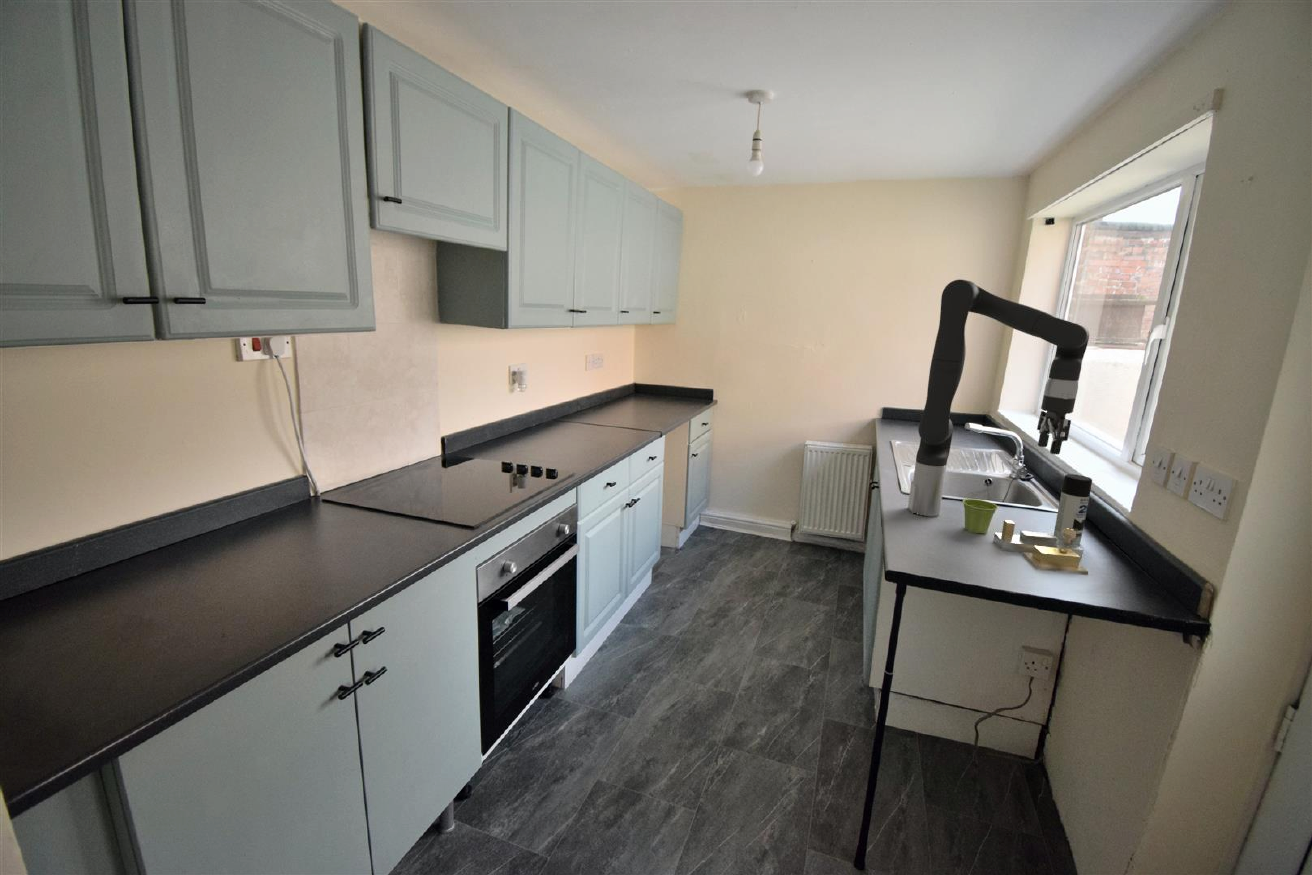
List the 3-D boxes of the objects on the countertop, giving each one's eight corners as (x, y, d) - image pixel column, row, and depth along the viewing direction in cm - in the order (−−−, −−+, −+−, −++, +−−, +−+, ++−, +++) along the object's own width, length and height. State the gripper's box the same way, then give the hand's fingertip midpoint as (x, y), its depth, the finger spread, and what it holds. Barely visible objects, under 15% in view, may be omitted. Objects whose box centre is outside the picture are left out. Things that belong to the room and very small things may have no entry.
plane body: (1002, 550, 159) (1006, 525, 158) (993, 540, 166) (997, 516, 164) (1081, 558, 155) (1086, 532, 154) (1069, 547, 162) (1074, 523, 160)
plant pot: (964, 522, 180) (968, 496, 178) (997, 530, 174) (1001, 504, 172) (954, 529, 174) (958, 503, 172) (987, 538, 167) (992, 511, 165)
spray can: (1072, 547, 163) (1085, 481, 158) (1047, 538, 168) (1059, 475, 164) (1084, 543, 166) (1098, 478, 161) (1059, 535, 171) (1072, 472, 167)
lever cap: (1040, 563, 150) (1042, 551, 149) (1032, 555, 154) (1034, 543, 153) (1078, 567, 148) (1080, 554, 147) (1068, 559, 152) (1071, 547, 152)
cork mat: (1036, 568, 148) (1037, 566, 148) (1022, 554, 157) (1023, 552, 156) (1087, 574, 146) (1088, 571, 145) (1070, 559, 154) (1071, 557, 154)
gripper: (1035, 390, 166) (1024, 443, 170) (1055, 397, 153) (1043, 455, 157) (1063, 392, 165) (1052, 445, 169) (1087, 400, 151) (1074, 457, 155)
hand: (1048, 450), depth 163 cm, fingers open, 8 cm apart
